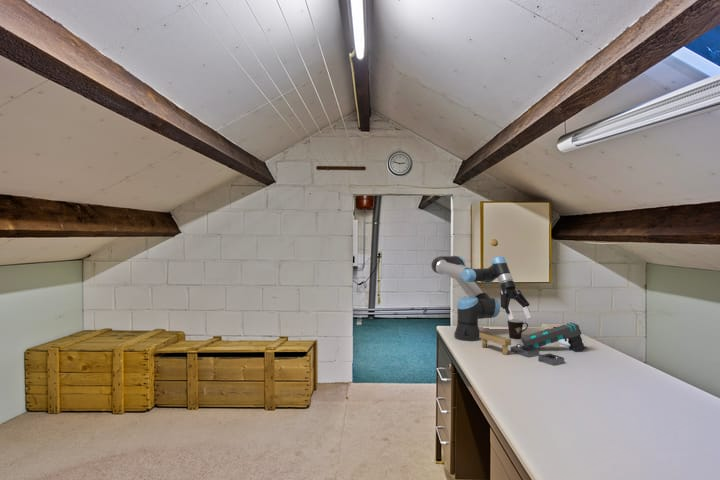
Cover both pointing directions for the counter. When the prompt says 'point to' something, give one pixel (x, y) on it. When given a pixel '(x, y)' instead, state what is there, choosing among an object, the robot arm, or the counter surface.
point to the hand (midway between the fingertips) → (520, 319)
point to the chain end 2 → (551, 359)
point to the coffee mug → (515, 328)
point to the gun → (556, 337)
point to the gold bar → (495, 341)
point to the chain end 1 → (524, 350)
